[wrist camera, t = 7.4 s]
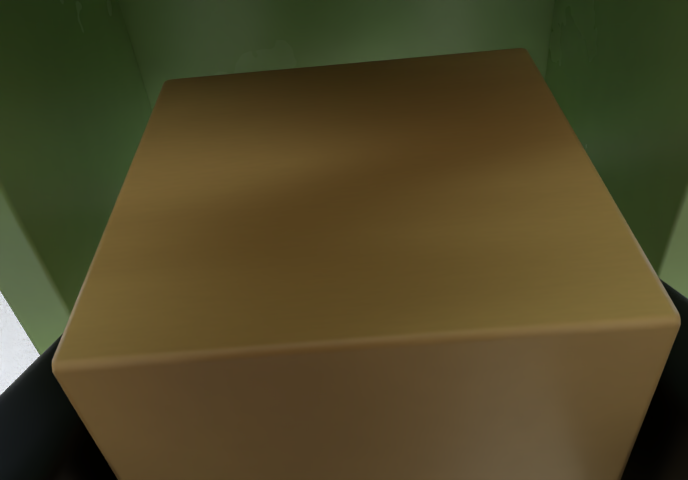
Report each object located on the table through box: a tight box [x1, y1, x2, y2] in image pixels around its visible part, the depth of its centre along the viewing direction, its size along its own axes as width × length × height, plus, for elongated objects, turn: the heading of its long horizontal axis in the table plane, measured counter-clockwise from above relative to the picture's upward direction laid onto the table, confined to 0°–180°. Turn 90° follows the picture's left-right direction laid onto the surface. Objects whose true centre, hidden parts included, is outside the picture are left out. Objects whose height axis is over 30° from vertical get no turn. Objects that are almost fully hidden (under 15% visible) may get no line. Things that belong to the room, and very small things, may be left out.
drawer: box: [0, 0, 688, 355], centre depth 11 cm, size 18×11×7 cm, turn 5°
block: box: [52, 48, 681, 480], centre depth 7 cm, size 4×4×4 cm
